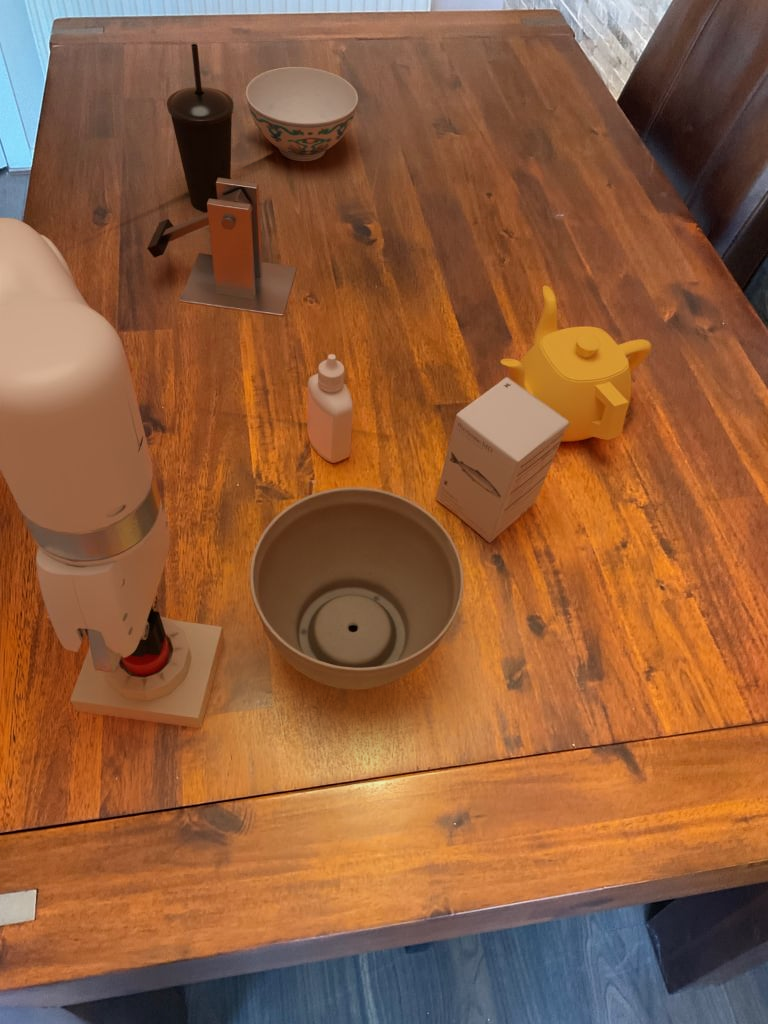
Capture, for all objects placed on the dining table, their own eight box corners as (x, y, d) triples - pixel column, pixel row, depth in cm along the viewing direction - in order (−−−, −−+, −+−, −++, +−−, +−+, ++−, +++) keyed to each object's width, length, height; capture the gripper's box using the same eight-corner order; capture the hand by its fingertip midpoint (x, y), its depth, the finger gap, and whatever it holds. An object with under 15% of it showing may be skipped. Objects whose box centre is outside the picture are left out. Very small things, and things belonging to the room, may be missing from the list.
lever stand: (180, 308, 92) (164, 209, 82) (199, 260, 97) (187, 162, 87) (283, 323, 92) (281, 225, 82) (297, 274, 97) (296, 177, 87)
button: (116, 672, 62) (111, 662, 60) (130, 630, 64) (126, 620, 62) (162, 678, 62) (159, 668, 60) (174, 636, 64) (171, 626, 62)
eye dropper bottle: (306, 464, 80) (307, 378, 70) (307, 422, 83) (307, 334, 74) (350, 465, 80) (356, 379, 71) (349, 423, 84) (355, 336, 74)
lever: (157, 262, 89) (143, 244, 88) (169, 235, 92) (156, 218, 91) (246, 226, 85) (233, 207, 83) (255, 200, 87) (243, 181, 86)
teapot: (524, 350, 93) (545, 280, 85) (635, 392, 90) (668, 323, 82) (481, 428, 85) (500, 358, 77) (602, 475, 82) (634, 409, 74)
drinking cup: (171, 218, 102) (147, 53, 86) (194, 186, 106) (174, 24, 90) (228, 231, 101) (215, 67, 85) (249, 198, 106) (239, 37, 90)
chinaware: (344, 186, 109) (346, 131, 103) (236, 168, 110) (232, 112, 103) (363, 130, 118) (366, 76, 112) (263, 113, 118) (261, 59, 112)
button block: (76, 711, 63) (64, 690, 60) (107, 622, 68) (98, 599, 65) (201, 728, 63) (195, 709, 60) (224, 638, 68) (220, 616, 65)
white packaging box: (432, 500, 79) (452, 411, 68) (482, 462, 82) (507, 372, 72) (488, 547, 76) (518, 462, 66) (537, 505, 79) (572, 419, 69)
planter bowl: (258, 559, 73) (252, 486, 64) (432, 557, 75) (450, 486, 66) (253, 730, 64) (246, 672, 55) (453, 723, 65) (477, 665, 57)
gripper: (71, 398, 51) (124, 555, 66) (-26, 601, 42) (60, 730, 57) (188, 414, 51) (214, 568, 66) (115, 620, 42) (165, 745, 57)
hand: (142, 643), depth 61 cm, fingers closed
